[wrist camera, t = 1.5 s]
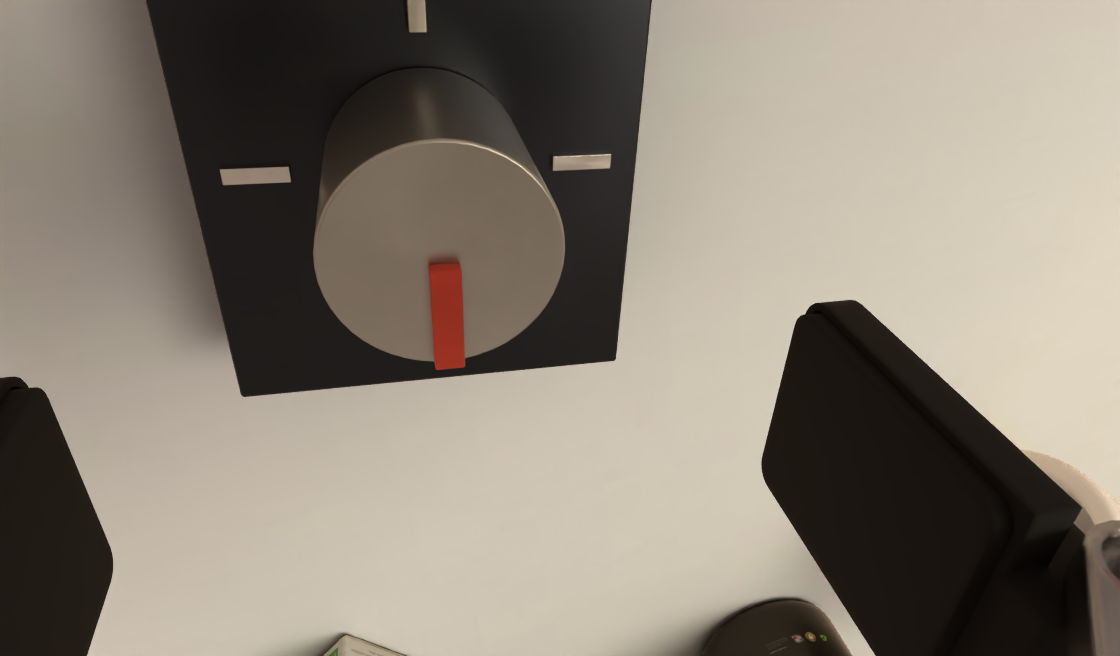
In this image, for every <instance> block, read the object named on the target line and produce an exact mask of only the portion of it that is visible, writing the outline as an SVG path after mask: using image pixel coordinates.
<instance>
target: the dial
mask: <svg viewBox="0 0 1120 656" xmlns="http://www.w3.org/2000/svg"><path fill="white" fill-rule="evenodd" d="M564 255H565V236H564V230H563V224H562V220H561V217H560V214H559V211H558V208H557V206H556V204H555V202H554V200H553V198H552V196H551V194H550V192H549V190H548V188H547V187H546V185H545V183H544V181H543V179H542V177H541V175H540V173H539V171H538V169H537V167H536V166H535V164H534V162H533V160H532V158H531V156H530V154H529V152H528V150H527V148H526V146H525V145H524V143H523V141H522V139H521V137H520V135H519V133H518V131H517V129H516V127H515V126H514V124H513V122H512V120H511V118H510V116H509V115H508V113H507V112H506V110H505V109H504V107H503V106H502V105H501V104H500V103H499V102H498V101H497V99H496V98H495V97H494V96H493V95H491V94H490V93H489V92H488V91H487V90H486V89H484V88H483V87H481V86H480V85H478V84H477V83H475V82H474V81H472V80H470V79H468V78H466V77H464V76H461V75H459V74H456V73H452V72H449V71H445V70H440V69H435V68H410V69H403V70H398V71H394V72H391V73H388V74H385V75H382V76H380V77H378V78H376V79H374V80H372V81H370V82H368V83H367V84H365V85H364V86H362V87H361V88H360V89H358V90H357V91H356V92H355V93H354V94H353V95H352V96H351V97H349V98H348V99H347V100H346V102H345V103H344V104H343V106H342V107H341V108H340V109H339V111H338V112H337V114H336V116H335V118H334V119H333V121H332V123H331V126H330V128H329V131H328V134H327V137H326V142H325V146H324V154H323V163H322V172H321V181H320V190H319V199H318V208H317V217H316V226H315V235H314V247H313V258H314V269H315V273H316V277H317V281H318V284H319V287H320V289H321V292H322V294H323V296H324V298H325V300H326V302H327V303H328V305H329V307H330V309H331V310H332V311H333V312H334V314H335V315H336V316H337V318H338V319H339V320H340V321H341V322H342V323H343V324H344V325H345V326H346V327H347V328H348V329H349V330H350V331H351V332H352V333H354V334H355V335H356V336H358V337H359V338H360V339H362V340H363V341H365V342H367V343H368V344H370V345H372V346H374V347H375V348H378V349H380V350H382V351H385V352H387V353H389V354H393V355H396V356H400V357H403V358H408V359H413V360H419V361H434V362H435V368H436V370H442V369H452V368H463V367H465V358H468V357H472V356H476V355H480V354H482V353H485V352H488V351H490V350H493V349H495V348H497V347H499V346H501V345H503V344H505V343H506V342H508V341H509V340H511V339H513V338H514V337H516V336H517V335H518V334H520V333H521V332H522V331H523V330H525V329H526V328H527V327H528V326H529V325H530V324H531V323H532V322H533V321H534V320H535V319H536V318H537V317H538V316H539V315H540V313H541V312H542V311H543V309H544V308H545V307H546V305H547V304H548V302H549V300H550V299H551V297H552V295H553V293H554V291H555V289H556V286H557V284H558V282H559V279H560V276H561V272H562V268H563V264H564Z"/></svg>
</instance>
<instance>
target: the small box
mask: <svg viewBox="0 0 1120 656" xmlns="http://www.w3.org/2000/svg"><path fill="white" fill-rule="evenodd" d="M323 656H403V655H401V654H398V653H395V652H392V651H389V650H387V649H384V648H381V647H379V646H376V645H374V644H371V643H369V642H366V641H364V640H361V639H358V638H355V637H351V636H348V635H345V636H343V637H342V638H341V639H340V640H339V641H338V642H337V643H336V644H335V645H334V646H333V647H332V648H331V649H330V650H329V651H328V652H327V653H326V654H324V655H323Z"/></svg>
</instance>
